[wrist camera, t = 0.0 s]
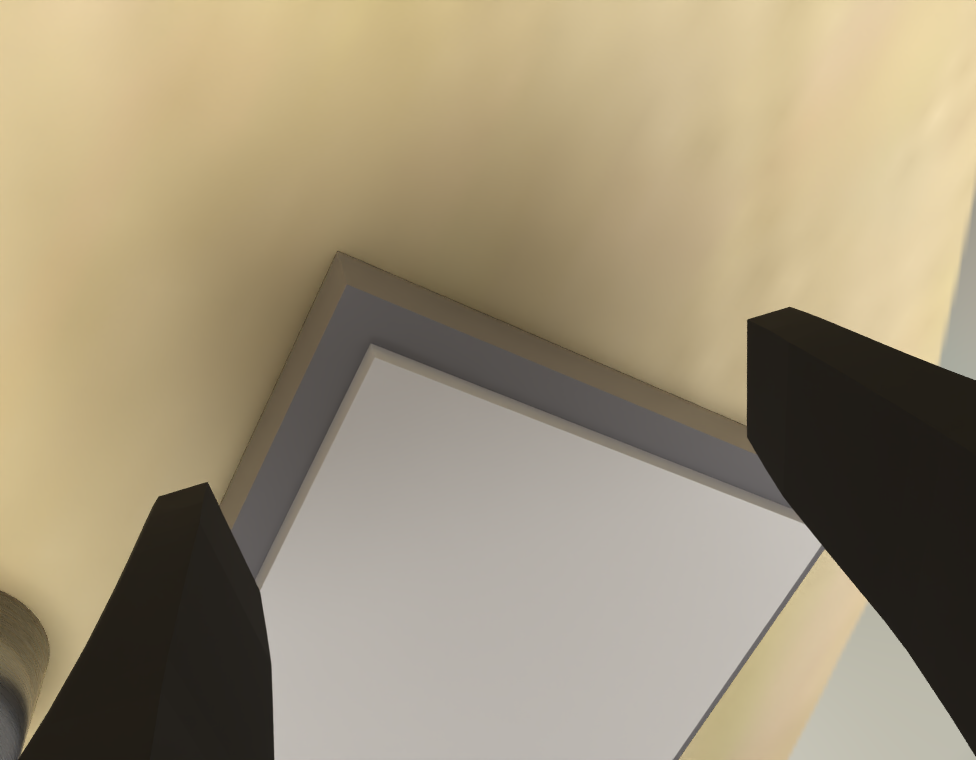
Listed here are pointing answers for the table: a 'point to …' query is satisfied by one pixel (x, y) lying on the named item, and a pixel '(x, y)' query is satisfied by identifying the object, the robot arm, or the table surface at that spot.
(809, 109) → the table surface
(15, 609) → the cylinder
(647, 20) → the table surface
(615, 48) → the table surface
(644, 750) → the scale
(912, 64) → the table surface
